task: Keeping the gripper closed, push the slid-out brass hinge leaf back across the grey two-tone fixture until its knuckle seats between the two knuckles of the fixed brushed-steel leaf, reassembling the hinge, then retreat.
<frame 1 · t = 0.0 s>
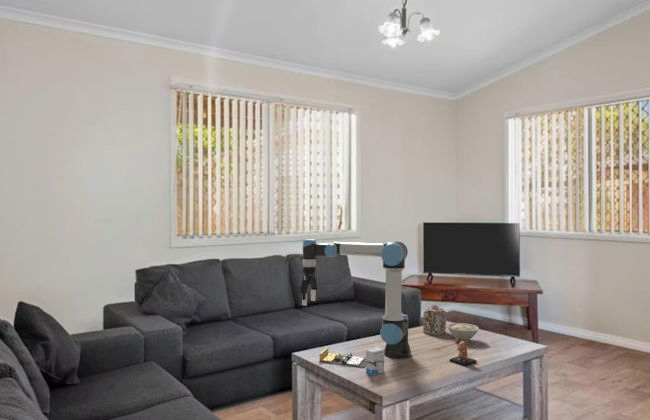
hand: (308, 303, 279), 28 cm above the table, fingers open, 13 cm apart
decorative jar: (434, 333, 322), on the table
fixed leaf: (355, 362, 261), resting on grey two-tone fixture
ink box: (375, 372, 246), on the table
figurine: (463, 362, 263), on the table
loose leaf: (331, 355, 265), point 2 cm above the table, slide at 5.0 cm
bowl: (462, 341, 304), on the table
grey two-tone fixture: (345, 360, 263), on the table
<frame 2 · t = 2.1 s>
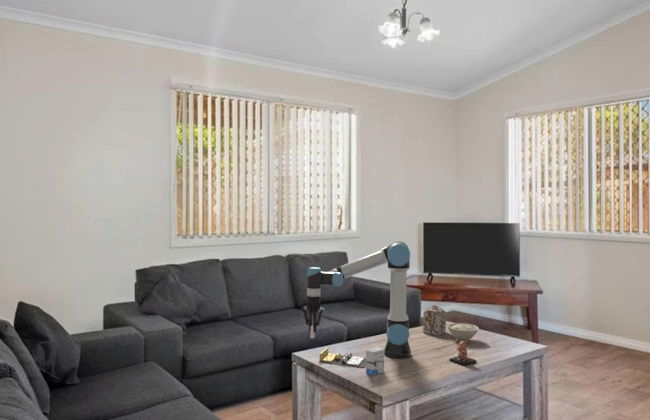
hand: (312, 337, 269), 11 cm above the table, fingers closed
nothing on the table moved.
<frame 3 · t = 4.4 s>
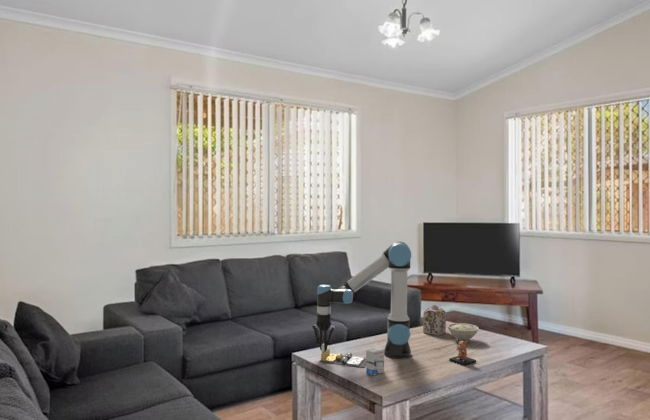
hand: (323, 355, 267), 1 cm above the table, fingers closed
loose leaf: (333, 355, 265), point 2 cm above the table, slide at 4.1 cm, touching gripper
everything else where it was.
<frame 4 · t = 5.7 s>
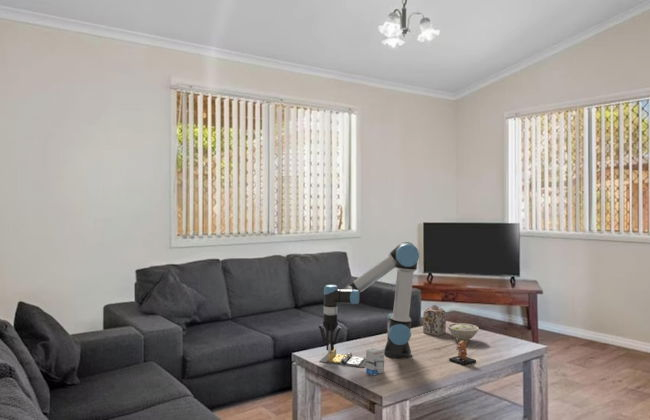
hand: (330, 356, 266), 2 cm above the table, fingers closed
loose leaf: (339, 356, 264), point 2 cm above the table, slide at 0.4 cm, touching gripper
everything else where it was.
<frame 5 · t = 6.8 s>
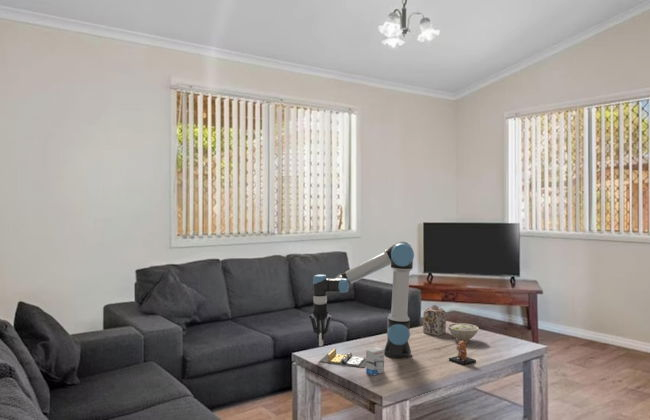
hand: (321, 345, 267), 7 cm above the table, fingers closed
loose leaf: (339, 356, 264), point 2 cm above the table, slide at 0.4 cm
everything else where it was.
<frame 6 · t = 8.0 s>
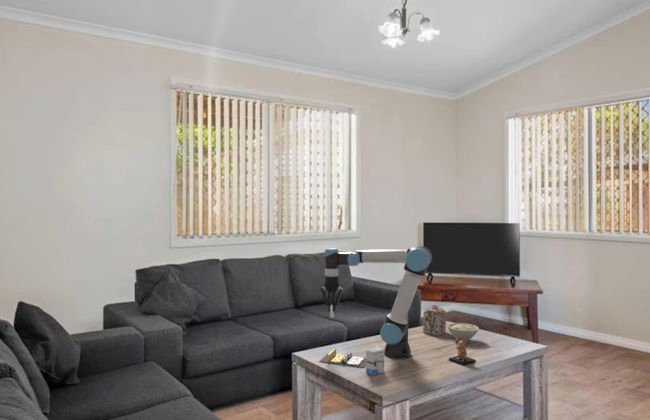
hand: (332, 317, 274), 21 cm above the table, fingers closed
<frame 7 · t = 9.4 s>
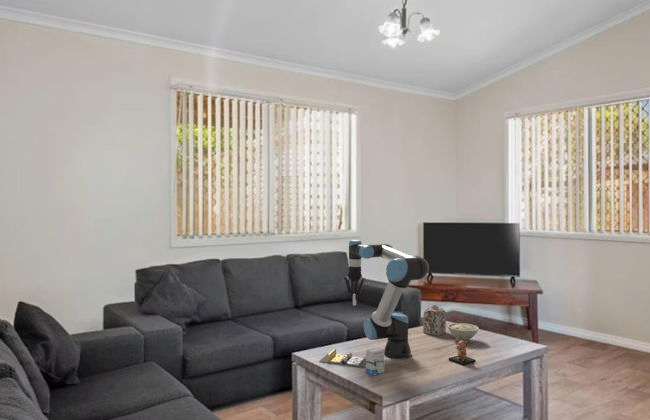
hand: (354, 304, 292), 24 cm above the table, fingers closed
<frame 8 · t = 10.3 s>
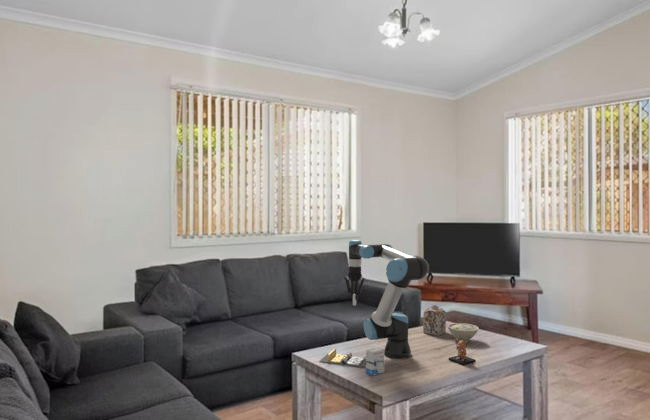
hand: (354, 304, 292), 24 cm above the table, fingers closed
at the end: loose leaf slide at 0.4 cm; loose leaf 0.4 cm from the target spot, resting on grey two-tone fixture; the gripper is holding nothing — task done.
